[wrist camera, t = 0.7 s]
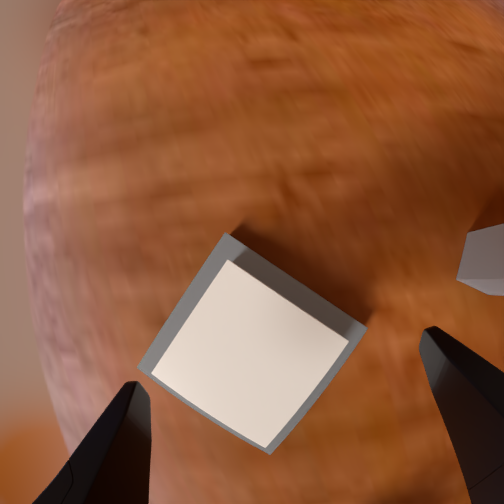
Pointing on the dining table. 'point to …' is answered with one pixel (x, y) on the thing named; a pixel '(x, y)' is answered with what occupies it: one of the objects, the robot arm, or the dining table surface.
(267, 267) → the square tray
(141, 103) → the dining table surface
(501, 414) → the robot arm
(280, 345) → the off-white top slab
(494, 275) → the slate block
